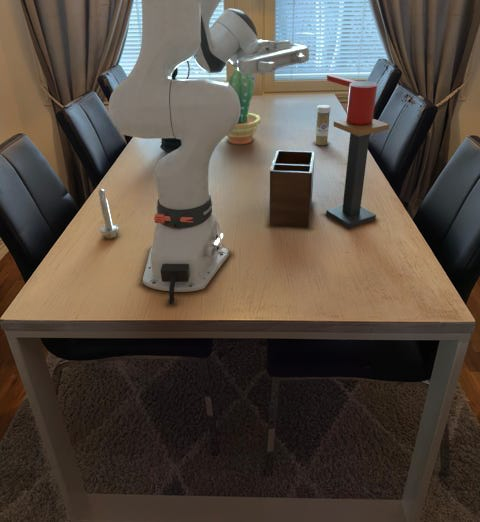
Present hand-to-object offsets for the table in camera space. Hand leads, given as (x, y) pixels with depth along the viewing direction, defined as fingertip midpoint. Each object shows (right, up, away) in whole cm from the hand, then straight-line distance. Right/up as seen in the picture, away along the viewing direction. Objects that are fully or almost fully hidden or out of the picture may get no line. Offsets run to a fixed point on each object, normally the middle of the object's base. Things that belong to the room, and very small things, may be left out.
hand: (288, 63), depth 122 cm
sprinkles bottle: (+17, -9, +49) cm, 52 cm away
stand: (+16, -40, +2) cm, 43 cm away
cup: (+13, -17, -8) cm, 23 cm away
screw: (-45, -45, -3) cm, 64 cm away
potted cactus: (-12, -6, +54) cm, 56 cm away
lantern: (-35, -12, +46) cm, 59 cm away
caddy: (+1, -39, +4) cm, 39 cm away
